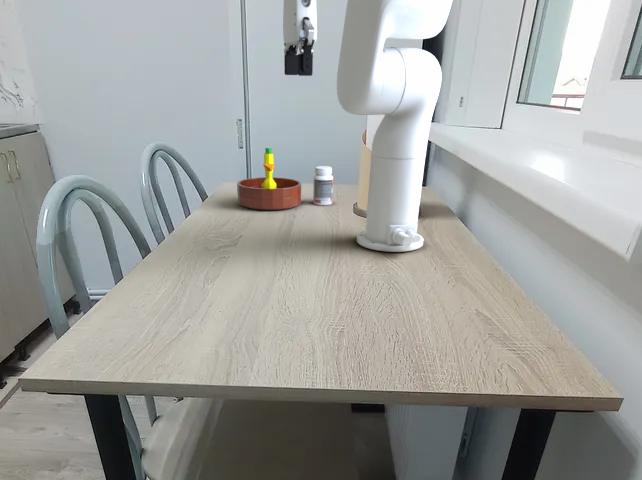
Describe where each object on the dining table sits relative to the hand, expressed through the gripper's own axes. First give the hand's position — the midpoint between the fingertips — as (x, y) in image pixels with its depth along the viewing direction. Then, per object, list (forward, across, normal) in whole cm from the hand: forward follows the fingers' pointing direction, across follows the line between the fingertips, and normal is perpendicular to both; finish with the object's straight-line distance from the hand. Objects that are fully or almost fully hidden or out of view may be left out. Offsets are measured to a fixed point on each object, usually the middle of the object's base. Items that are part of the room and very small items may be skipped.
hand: (298, 75), depth 119 cm
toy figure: (+27, -2, +8) cm, 28 cm away
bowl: (+27, -2, +8) cm, 29 cm away
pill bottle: (+28, -5, -5) cm, 28 cm away
